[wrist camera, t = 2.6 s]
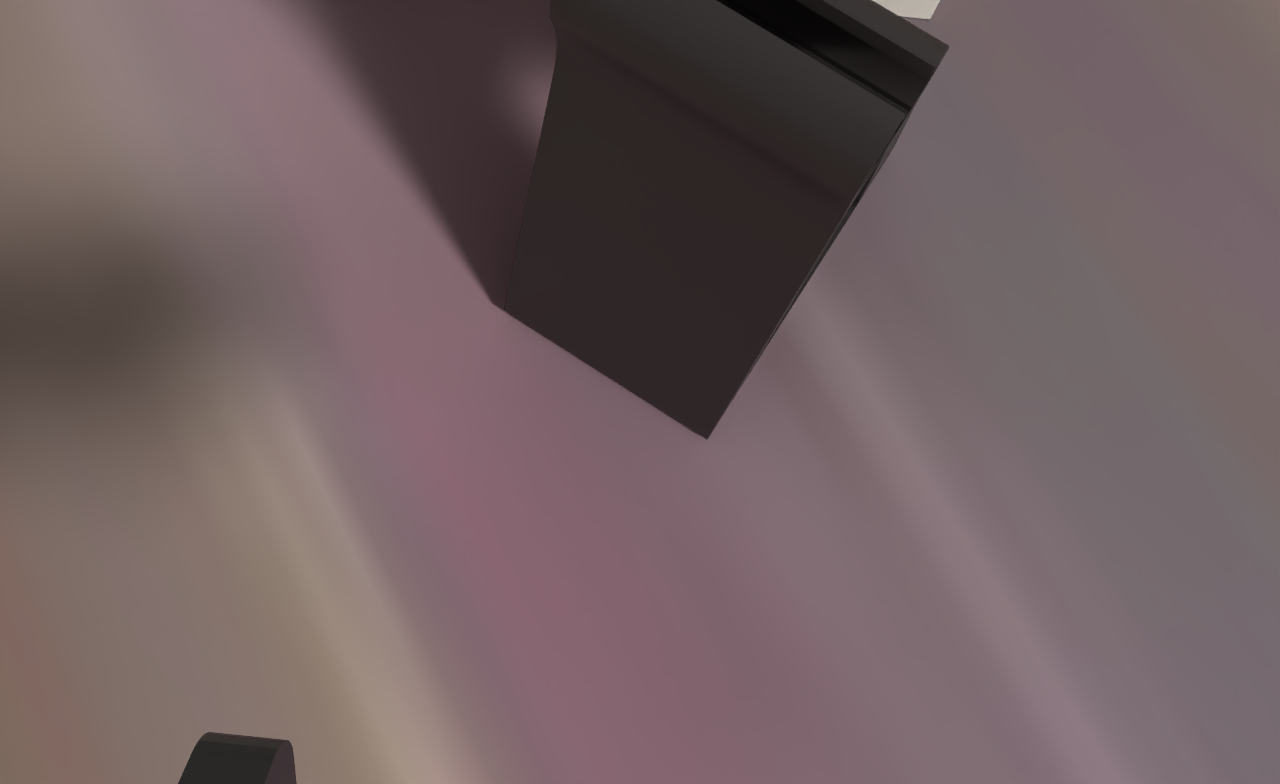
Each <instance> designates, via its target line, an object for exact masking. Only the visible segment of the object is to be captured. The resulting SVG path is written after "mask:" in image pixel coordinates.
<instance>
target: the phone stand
mask: <svg viewBox="0 0 1280 784" xmlns="http://www.w3.org/2000/svg"><path fill="white" fill-rule="evenodd" d="M550 14H551V20H552V23H553V25H554V27H555V31H556V37H557V54H556V62H555V68H554V73H553V78H552V83H551V88H550V93H549V97H548V102H547V107H546V112H545V116H544V121H543V126H542V131H541V135H540V140H539V145H538V150H537V155H536V159H535V164H534V169H533V174H532V178H531V183H530V188H529V193H528V198H527V202H526V207H525V212H524V217H523V221H522V226H521V231H520V236H519V241H518V245H517V250H516V255H515V260H514V264H513V269H512V274H511V279H510V284H509V288H508V293H507V298H506V303H505V307H504V311H506V312H508V313H509V314H511V315H512V316H514V317H515V318H517V319H519V320H520V321H522V322H523V323H525V324H526V325H528V326H530V327H531V328H533V329H534V330H536V331H537V332H539V333H541V334H542V335H544V336H545V337H547V338H548V339H550V340H552V341H553V342H555V343H556V344H558V345H559V346H561V347H563V348H564V349H566V350H567V351H569V352H570V353H572V354H574V355H575V356H577V357H578V358H580V359H581V360H583V361H585V362H586V363H588V364H589V365H591V366H592V367H594V368H596V369H597V370H599V371H600V372H602V373H603V374H605V375H607V376H608V377H610V378H611V379H613V380H614V381H616V382H618V383H619V384H621V385H622V386H624V387H625V388H627V389H629V390H630V391H632V392H633V393H635V394H636V395H638V396H639V397H641V398H643V399H644V400H646V401H647V402H649V403H650V404H652V405H654V406H655V407H657V408H658V409H660V410H661V411H663V412H665V413H666V414H668V415H669V416H671V417H672V418H674V419H676V420H677V421H679V422H680V423H682V424H683V425H685V426H687V427H688V428H690V429H691V430H693V431H694V432H696V433H698V434H699V435H701V436H702V437H704V438H705V439H708V437H709V436H710V434H711V433H712V431H713V430H714V428H715V427H716V425H717V423H718V422H719V420H720V419H721V417H722V416H723V414H724V412H725V411H726V409H727V408H728V406H729V405H730V403H731V402H732V400H733V398H734V397H735V395H736V394H737V392H738V391H739V389H740V387H741V386H742V384H743V383H744V381H745V380H746V378H747V376H748V375H749V373H750V372H751V370H752V369H753V367H754V365H755V364H756V362H757V361H758V359H759V358H760V356H761V355H762V353H763V351H764V350H765V348H766V347H767V345H768V344H769V342H770V340H771V339H772V337H773V336H774V334H775V333H776V331H777V329H778V328H779V326H780V325H781V323H782V322H783V320H784V319H785V317H786V315H787V314H788V312H789V311H790V309H791V308H792V306H793V304H794V303H795V301H796V300H797V298H798V297H799V295H800V293H801V292H802V290H803V289H804V287H805V286H806V284H807V283H808V281H809V279H810V278H811V276H812V275H813V273H814V272H815V270H816V268H817V267H818V265H819V264H820V262H821V261H822V259H823V257H824V256H825V254H826V253H827V251H828V250H829V248H830V247H831V245H832V243H833V242H834V240H835V239H836V237H837V236H838V234H839V232H840V231H841V229H842V228H843V226H844V225H845V223H846V221H847V220H848V218H849V217H850V215H851V214H852V212H853V211H854V209H855V207H856V206H857V204H858V203H859V201H860V200H861V198H862V196H863V195H864V193H865V192H866V190H867V189H868V187H869V185H870V184H871V182H872V181H873V179H874V178H875V176H876V175H877V173H878V171H879V170H880V168H881V167H882V165H883V164H884V162H885V160H886V159H887V157H888V156H889V154H890V152H891V151H892V149H893V148H894V146H895V144H896V142H897V140H898V138H899V136H900V134H901V132H902V130H903V128H904V126H905V124H906V122H907V120H908V118H909V116H910V114H911V112H912V110H913V108H914V106H915V104H916V103H917V101H918V99H919V97H920V96H921V94H922V92H923V91H924V89H925V87H926V86H927V84H928V82H929V81H930V79H931V77H932V76H933V74H934V72H935V71H936V69H937V67H938V66H939V64H940V62H941V61H942V59H943V57H944V56H945V54H946V52H947V51H948V49H949V47H950V46H948V45H947V44H945V43H943V42H942V41H940V40H938V39H937V38H935V37H933V36H932V35H930V34H928V33H927V32H925V31H923V30H922V29H920V28H918V27H916V26H915V25H913V24H911V23H910V22H908V21H906V20H905V19H903V18H901V17H900V16H898V15H896V14H895V13H893V12H891V11H890V10H888V9H886V8H885V7H883V6H881V5H879V4H878V3H876V2H874V1H873V0H551V7H550Z"/></svg>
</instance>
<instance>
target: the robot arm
mask: <svg viewBox="0 0 1280 784" xmlns="http://www.w3.org/2000/svg"><path fill="white" fill-rule="evenodd" d="M178 784H296V774H295V764H294V755H293V748H292V745H291V743H290V741H288V740H281V739H271V738H261V737H251V736H242V735H232V734H222V733H212V732H208V733H206V734H204V735H203V736H202V737H201V738H200V740H199V741H198V743H197V744H196V746H195V748H194V750H193V752H192V754H191V756H190V758H189V760H188V763H187V765H186V767H185V769H184V772H183V774H182V776H181V778H180V781H179V783H178Z"/></svg>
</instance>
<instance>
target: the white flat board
mask: <svg viewBox="0 0 1280 784" xmlns="http://www.w3.org/2000/svg"><path fill="white" fill-rule="evenodd" d="M873 1H874V2H876V3H878V4H879V5H881V6H883V7H885V8H886V9H888V10H890V11H891V12H893V13H895V14H896V15H898V16H904V17H914V18H923V19H930V18H931V16H932V14H933V13H934V11H935V9H936V7H937V5H938V3H939V1H940V0H873Z"/></svg>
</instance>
